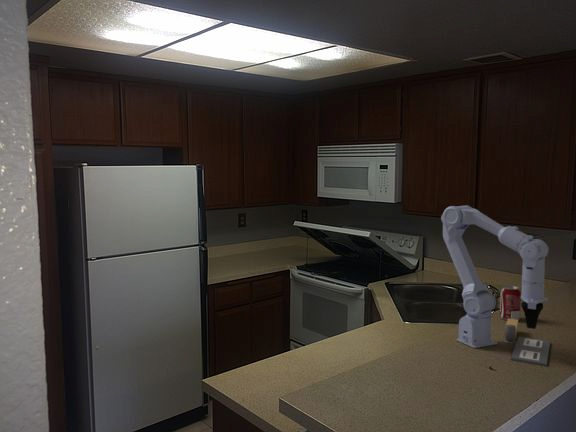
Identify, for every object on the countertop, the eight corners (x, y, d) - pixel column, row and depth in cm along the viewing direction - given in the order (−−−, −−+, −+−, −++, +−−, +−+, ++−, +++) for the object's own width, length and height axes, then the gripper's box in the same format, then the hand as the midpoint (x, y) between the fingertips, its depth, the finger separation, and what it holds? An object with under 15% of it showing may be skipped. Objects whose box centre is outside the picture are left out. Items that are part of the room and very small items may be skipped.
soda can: (523, 321, 173) (524, 289, 172) (504, 321, 173) (505, 289, 172) (514, 316, 180) (515, 285, 179) (496, 316, 180) (497, 285, 179)
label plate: (546, 366, 132) (546, 363, 132) (495, 357, 138) (495, 354, 138) (550, 343, 151) (550, 340, 151) (505, 336, 157) (505, 333, 157)
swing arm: (515, 341, 150) (515, 327, 150) (504, 340, 151) (504, 326, 151) (517, 329, 162) (518, 316, 162) (507, 328, 164) (508, 315, 163)
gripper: (549, 288, 129) (547, 337, 130) (548, 278, 142) (546, 323, 143) (520, 285, 133) (518, 333, 134) (522, 276, 146) (520, 319, 147)
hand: (531, 327), depth 139 cm, fingers closed
